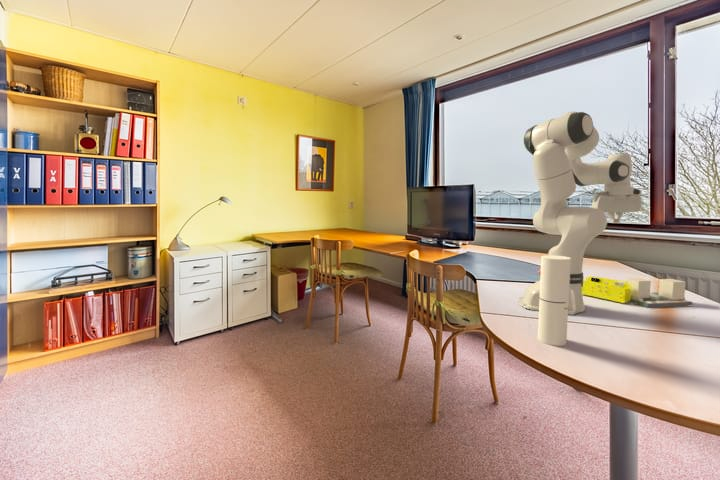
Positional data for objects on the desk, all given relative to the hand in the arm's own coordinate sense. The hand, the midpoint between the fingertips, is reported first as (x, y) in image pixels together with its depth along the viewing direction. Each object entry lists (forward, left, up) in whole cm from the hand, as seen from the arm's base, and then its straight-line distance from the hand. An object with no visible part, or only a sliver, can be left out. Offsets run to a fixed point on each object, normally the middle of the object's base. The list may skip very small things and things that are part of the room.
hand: (614, 222), depth 135 cm
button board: (+8, -15, -31) cm, 35 cm away
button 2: (+14, -15, -29) cm, 35 cm away
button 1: (+2, -16, -29) cm, 33 cm away
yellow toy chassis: (-8, -14, -32) cm, 36 cm away
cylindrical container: (-41, -64, -31) cm, 82 cm away
